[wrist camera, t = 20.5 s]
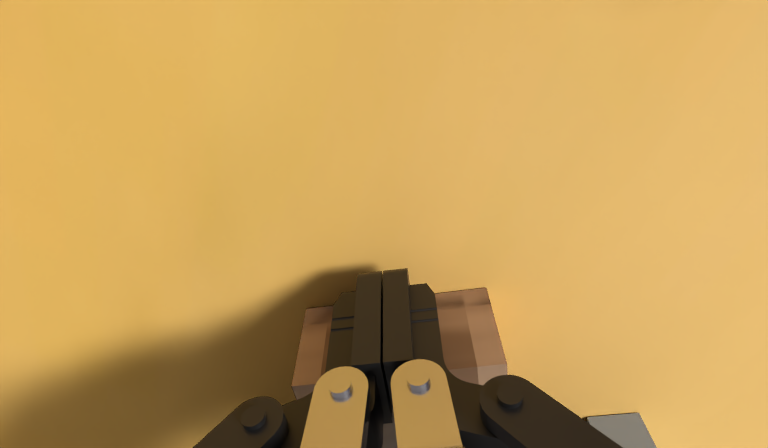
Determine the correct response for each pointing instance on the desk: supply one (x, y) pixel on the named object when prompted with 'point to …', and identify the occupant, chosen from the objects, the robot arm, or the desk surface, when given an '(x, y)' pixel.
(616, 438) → the grey bridge block
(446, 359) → the tray
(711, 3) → the desk surface
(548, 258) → the desk surface
